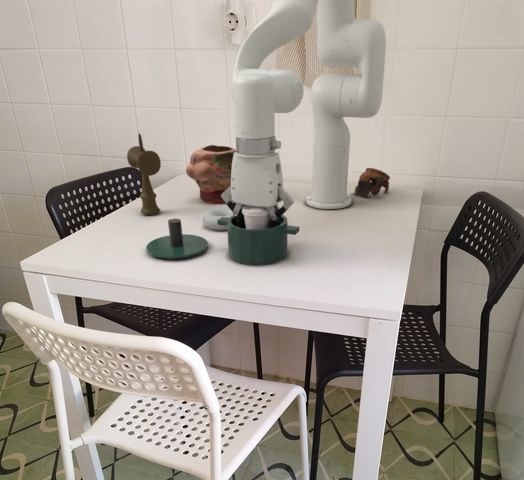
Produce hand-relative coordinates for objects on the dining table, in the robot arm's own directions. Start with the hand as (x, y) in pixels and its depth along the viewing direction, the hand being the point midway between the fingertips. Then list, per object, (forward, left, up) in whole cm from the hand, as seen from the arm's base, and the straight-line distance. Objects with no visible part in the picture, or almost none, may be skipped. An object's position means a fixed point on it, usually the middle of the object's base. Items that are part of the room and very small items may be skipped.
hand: (257, 234), depth 107 cm
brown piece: (-53, +12, -5) cm, 55 cm away
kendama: (-16, -39, -5) cm, 42 cm away
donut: (-14, -16, -5) cm, 22 cm away
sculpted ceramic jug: (-35, -27, -5) cm, 45 cm away
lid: (+4, -18, -4) cm, 19 cm away
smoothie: (0, 0, -4) cm, 4 cm away
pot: (0, 0, -4) cm, 4 cm away
